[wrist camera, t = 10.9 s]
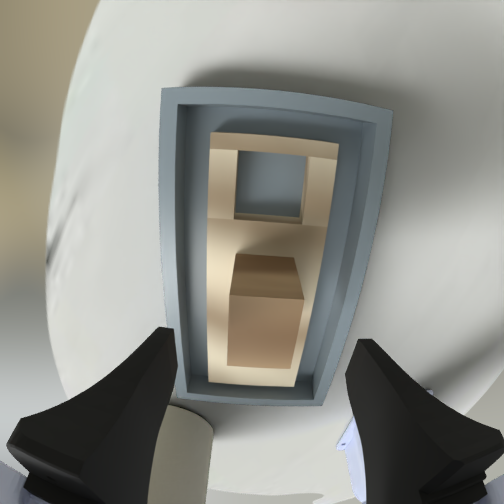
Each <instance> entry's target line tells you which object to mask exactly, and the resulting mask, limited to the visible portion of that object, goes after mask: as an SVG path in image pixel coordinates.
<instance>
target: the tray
mask: <svg viewBox="0 0 504 504" xmlns="http://www.w3.org/2000/svg"><path fill="white" fill-rule="evenodd" d="M392 120H393V110H389V109H385V108H381V107H376V106H372V105H367V104H363V103H358V102H353V101H348V100H342V99H337V98H331V97H325V96H318V95H312V94H304V93H296V92H288V91H278V90H267V89H253V88H235V87H171V88H162V91H161V107H160V129H159V225H160V247H161V264H162V278H163V290H164V301H165V312H166V321H167V328H173V329H174V334H175V343H176V352H177V361H178V369H177V374H176V379H175V388H176V394H177V398H182V399H190V400H198V401H207V402H217V403H228V404H242V405H260V406H322V405H323V402H324V400H325V397H326V394H327V392H328V389H329V387H330V384H331V381H332V379H333V376H334V373H335V370H336V368H337V365H338V362H339V359H340V356H341V353H342V350H343V347H344V344H345V341H346V338H347V335H348V332H349V329H350V326H351V322H352V319H353V316H354V312H355V309H356V306H357V302H358V299H359V295H360V291H361V288H362V284H363V280H364V276H365V272H366V268H367V264H368V260H369V256H370V252H371V248H372V243H373V239H374V234H375V229H376V225H377V220H378V215H379V209H380V204H381V199H382V193H383V187H384V181H385V175H386V168H387V161H388V154H389V147H390V138H391V129H392ZM211 132H232V133H249V134H263V135H275V136H285V137H295V138H304V139H312V140H319V141H327V142H333V143H337V144H339V148H338V156H337V165H336V173H335V180H334V187H333V195H332V201H331V208H330V215H329V221H328V227H327V233H326V239H325V245H324V251H323V257H322V262H321V267H320V273H319V278H318V283H317V288H316V293H315V298H314V303H313V308H312V312H311V317H310V322H309V326H308V331H307V335H306V339H305V344H304V348H303V352H302V356H301V360H300V364H299V368H298V372H297V376H296V380H295V384H294V387H282V386H256V385H239V384H226V383H215V382H209V380H208V349H207V210H208V179H209V156H210V136H211ZM305 164H306V156H300V155H291V154H280V153H269V152H257V151H242V150H239V159H238V175H237V191H236V208H235V213H248V214H262V215H274V216H287V217H298V218H299V215H300V207H301V199H302V191H303V182H304V173H305Z"/></svg>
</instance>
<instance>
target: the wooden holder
mask: <svg viewBox="0 0 504 504" xmlns="http://www.w3.org/2000/svg"><path fill="white" fill-rule="evenodd" d="M338 148H339V144H337V143H333V142H327V141H319V140H312V139H304V138H295V137H285V136H275V135H263V134H249V133H232V132H211V136H210V156H209V179H208V210H207V349H208V380H209V382H215V383H226V384H239V385H256V386H282V387H294V384H295V380H296V376H297V372H298V368H299V364H300V360H301V356H302V352H303V348H304V344H305V339H306V335H307V331H308V326H309V322H310V317H311V312H312V308H313V303H314V298H315V293H316V288H317V283H318V278H319V273H320V267H321V262H322V257H323V251H324V245H325V239H326V233H327V227H328V221H329V215H330V208H331V201H332V195H333V187H334V180H335V173H336V165H337V156H338ZM239 150H242V151H257V152H269V153H280V154H291V155H300V156H306V164H305V173H304V182H303V191H302V199H301V207H300V215H299V218H298V217H287V216H274V215H262V214H248V213H235V208H236V191H237V175H238V159H239Z"/></svg>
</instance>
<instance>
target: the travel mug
mask: <svg viewBox="0 0 504 504" xmlns="http://www.w3.org/2000/svg"><path fill="white" fill-rule="evenodd" d="M212 442H213V429H212V427H211V426H210V424H209V423H208V422H207V421H206V420H204V419H203V418H202V417H200V416H198V415H197V414H195V413H193V412H190V411H188V410H185V409H182V408H179V407H175V406H171V405H168V406H167V409H166V412H165V415H164V418H163V421H162V424H161V427H160V430H159V434H158V438H157V442H156V447H155V452H154V458H153V463H152V470H151V476H150V484H149V492H148V502H147V504H205V502H206V493H207V485H208V476H209V467H210V459H211V450H212Z"/></svg>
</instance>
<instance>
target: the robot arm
mask: <svg viewBox="0 0 504 504" xmlns="http://www.w3.org/2000/svg"><path fill="white" fill-rule="evenodd" d="M177 369H178V361H177V352H176V343H175V334H174V329H173V328H165V327H158V328H157V329H156V330H155V331H154V332H153V333H152V334H151V335H150V336H149V337H148V338H147V339H146V340H145V341H144V342H143V343H142V344H141V345H140V346H139V347H138V348H137V349H136V350H135V351H134V352H133V353H132V354H131V355H130V356H129V357H128V358H127V359H126V360H125V361H123V362H122V363H121V364H120V365H119V366H118V367H116V368H115V369H114V370H113V371H112V372H111V373H109V374H108V375H107V376H106V377H104V378H103V379H102V380H100V381H99V382H97V383H96V384H95V385H93V386H92V387H90V388H89V389H87V390H85V391H84V392H82V393H80V394H78V395H77V396H75V397H73V398H71V399H70V400H68V401H66V402H64V403H62V404H59V405H57V406H55V407H53V408H50V409H48V410H45V411H43V412H40V413H37V414H34V415H31V416H28V417H24V418H21V419H20V421H19V422H18V424H17V426H16V428H15V429H14V431H13V433H12V435H11V436H10V438H9V440H8V442H7V445H6V446H7V449H8V450H9V452H10V453H11V454H12V455H13V457H14V458H15V459H16V460H17V461H19V462H20V464H22V465H23V466H24V467H25V468H26V469H27V470H28V471H29V475H28V477H26V476H24V475H23V474H21V473H20V472H18V471H16V470H15V469H13V468H11V467H10V466H8V465H7V464H5V463H3V462H2V461H0V504H147V502H148V492H149V484H150V476H151V470H152V463H153V458H154V452H155V447H156V442H157V438H158V434H159V430H160V427H161V424H162V421H163V418H164V415H165V412H166V409H167V406H168V403H169V400H170V397H171V394H172V391H173V388H174V384H175V379H176V374H177ZM345 377H346V384H347V391H348V396H349V400H350V404H351V407H352V411H353V414H354V417H353V419H352V420H351V422H350V424H349V426H348V427H347V429H346V431H345V433H344V434H343V436H342V438H341V439H340V441H339V443H338V444H337V446H336V449H337V450H345V453H346V458H347V463H348V468H349V474H350V479H351V484H352V490H353V493H354V495H355V496H356V498H357V499H358V500H359V501H360V502H362V504H504V474H503V475H501V476H500V477H498V478H496V479H494V480H492V481H491V482H489V483H487V484H486V485H484V483H483V480H484V479H485V478H486V474H485V470H486V469H487V468H489V467H490V466H491V465H492V464H493V463H494V462H495V461H496V460H498V459H499V458H500V457H501V456H502V454H503V453H504V438H503V436H502V434H501V432H500V430H497V429H495V428H492V427H489V426H486V425H483V424H481V423H479V422H476V421H474V420H472V419H470V418H468V417H466V416H464V415H462V414H460V413H458V412H457V411H455V410H453V409H452V408H450V407H448V406H447V405H445V404H444V403H442V402H441V401H439V400H438V399H437V398H435V397H434V396H433V390H425V389H424V388H422V387H421V386H420V385H419V384H418V383H417V382H415V381H414V380H413V379H412V378H411V377H410V376H409V375H408V374H407V373H406V372H405V371H404V370H403V369H402V368H401V367H400V366H399V365H398V364H397V363H396V362H395V361H394V360H393V359H392V358H391V357H390V356H389V355H388V354H387V353H386V352H385V351H384V350H383V349H382V348H381V347H380V346H379V345H378V344H377V343H376V342H375V341H374V340H373V339H358V341H357V344H356V347H355V349H354V352H353V355H352V358H351V360H350V363H349V366H348V368H347V371H346V373H345Z"/></svg>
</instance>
